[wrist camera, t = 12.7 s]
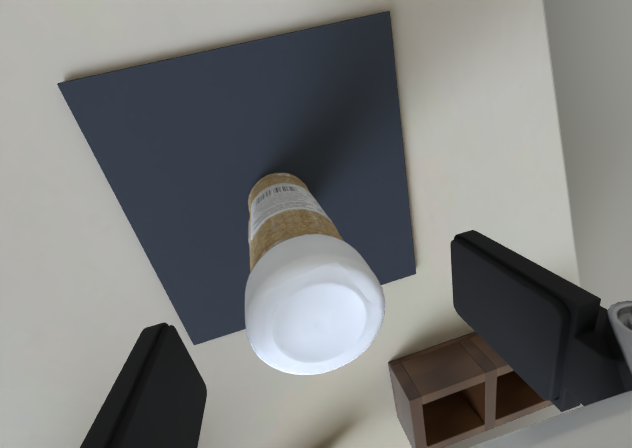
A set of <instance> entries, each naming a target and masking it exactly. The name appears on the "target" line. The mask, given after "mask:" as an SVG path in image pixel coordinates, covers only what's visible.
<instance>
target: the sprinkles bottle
mask: <svg viewBox="0 0 632 448" xmlns="http://www.w3.org/2000/svg"><path fill="white" fill-rule="evenodd" d="M248 205H249V212H250V219H249V247H250V252H249V253H250V272H251V273H250V275H249V278H248V281H247V284H246V290H245V325H246V333H247V337H248V340H249V343H250V344H251V346H252V348H253V350H254V351H255V353H256V354H257V355H258V356H259V358H261V359H262V360H263V361H264V362H265V363H267V364H268V365H270V366H271V367H273V368H275V369H277V370H280V371H283V372H286V373H291V374H298V375H312V374H320V373H325V372H328V371H331V370H334V369H337V368H339V367H341V366H344V365H345V364H347V363H349V362H351V361H352V360H354V359H355V358H356V357H358V356H359V355H360V354H361V353H363V352H364V351H365V350H366V348H367V347H368V346H369V345H370V344H371V343H372V341H373V340H374V339H375V337H376V335H377V334H378V332H379V330H380V328H381V325H382V322H383V318H384V313H385V298H384V294H383V290H382V287H381V285H380V283H379V281H378V279H377V277H376V276H375V274H374V273H373V271H372V270H371V269H370V267H369V266H368V264H367V263H366V262H365V260H364V259H363V258H362V256H361V255H360V254H359V253H358V252H357V251H356V250H355V249H354V248H353V247H352V246H350V245H349V244H347V243H346V242H345V241H344V240H343V239H342V237H341V236H340V234H339V233H338V231H337V229H336V227H335V226H334V224H333V223H332V221H331V220H330V218H329V217H328V216H327V214H326V213H325V212H324V210H323V209H322V208H321V206H320V205H319V204H318V202H317V201H316V200H315V198H314V197H313V196H312V195H311V193H310V192H309V190H308V188H307V186H306V185H305V184H304V183H303V182H302V181H301V180H300V179H299V178H297V177H296V176H294V175H291V174H288V173H274V174H269V175H266V176H265V177H263V178H261V179H260V180H259V181H258V182H257V183H256V184H255V186H254V187H253V188H252V190H251V192H250V195H249V199H248Z"/></svg>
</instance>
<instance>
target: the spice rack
mask: <svg viewBox="0 0 632 448" xmlns="http://www.w3.org/2000/svg"><path fill="white" fill-rule="evenodd" d="M388 364H389V370H390V376H391V381H392V387H393V393H394V399H395V405H396V411H397V417H398V419H399V421H400V423H401V425H402V427H403V430H404V432H405V434H406V436H407V438H408V440H409V442H410V444H411V446H412V448H444V447H446V446H449V445H451V444H454V443H457V442H459V441H461V440H464V439H467V438H469V437H472V436H474V435H477V434H479V433H482V432H484V431H487V430H490V429H492V428H495V427H497V426H500V425H502V424H505V423H507V422H510V421H513V420H515V419H517V418H520V417H523V416H525V415H527V414H530V413H533V412H535V411H538V410H540V409H543V408H546V407H548V406H550V405H553V403H552V402H551V401H550V400H549V401H547V400H544V399H543V398H541V397H540V396H539V395H538V394H537V393H536V392H535V391H534V390H533V389H532V388H531V387H530V386H529V385H528V384H527V383H526V382H525V381H524V380H523V379H522V378H521V377H520V376H519V375H518V374H517V373H516V372H515V371H514V370H513V369H512V368H511V367H510V366H509V365H508V364H507V363H506V362H505V361H504V360H503V359H502V358H501V357H500V356H499V355H498V354H497V353H496V352H495V351H494V350H493V349H492V348H491V347H490V346H489V345H488V344H487V343H486V342H485V341H484V340H483V339H482V338H481V337H480V336H479V335H478V334H477V333H476V332H474V333H471V334H468V335H466V336H463V337H460V338H457V339H454V340H451V341H449V342H446V343H443V344H440V345H437V346H434V347H432V348H429V349H426V350H423V351H420V352H417V353H415V354H412V355H409V356H406V357H403V358H400V359H398V360H395V361H392V362H389V363H388Z"/></svg>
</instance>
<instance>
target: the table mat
mask: <svg viewBox="0 0 632 448" xmlns="http://www.w3.org/2000/svg"><path fill="white" fill-rule="evenodd" d="M57 85H58V87H59V89H60V91H61V92H62V94H63V96H64V98H65V100H66V102H67V104H68V106H69V108H70V110H71V112H72V113H73V115H74V117H75V119H76V121H77V123H78V125H79V127H80V129H81V131H82V132H83V134H84V136H85V138H86V140H87V142H88V144H89V146H90V148H91V150H92V152H93V153H94V155H95V157H96V159H97V161H98V163H99V165H100V167H101V169H102V171H103V173H104V174H105V176H106V178H107V180H108V182H109V184H110V186H111V188H112V190H113V192H114V194H115V195H116V197H117V199H118V201H119V203H120V205H121V207H122V209H123V211H124V213H125V215H126V216H127V218H128V220H129V222H130V224H131V226H132V228H133V230H134V232H135V234H136V236H137V237H138V239H139V241H140V243H141V245H142V247H143V249H144V251H145V253H146V255H147V257H148V258H149V260H150V262H151V264H152V266H153V268H154V270H155V272H156V274H157V276H158V278H159V279H160V281H161V283H162V285H163V287H164V289H165V291H166V293H167V295H168V297H169V299H170V300H171V302H172V304H173V306H174V308H175V310H176V312H177V314H178V316H179V318H180V320H181V321H182V323H183V325H184V327H185V329H186V331H187V333H188V335H189V337H190V339H191V341H192V342H193V344H194V345H196V344H200V343H203V342H206V341H209V340H212V339H215V338H218V337H221V336H224V335H227V334H231V333H234V332H237V331H240V330H243V329H246V325H245V290H246V284H247V281H248V278H249V275H250V273H251V272H250V253H249V252H250V247H249V219H250V212H249V205H248V199H249V195H250V192H251V190H252V188H253V187H254V186H255V184H256V183H257V182H258V181H259V180H260V179H261V178H263V177H265V176H266V175H269V174H274V173H288V174H291V175H294V176H296V177H297V178H299V179H300V180H301V181H302V182H303V183H304V184H305V185H306V186H307V188H308V190H309V192H310V193H311V195H312V196H313V197H314V198H315V200H316V201H317V202H318V204H319V205H320V206H321V208H322V209H323V210H324V212H325V213H326V214H327V216H328V217H329V218H330V220H331V221H332V223H333V224H334V226H335V227H336V229H337V231H338V233H339V234H340V236H341V237H342V239H343V240H344V241H345V242H346V243H347V244H349V245H350V246H352V247H353V248H354V249H355V250H356V251H357V252H358V253H359V254H360V255H361V256H362V258H363V259H364V260H365V262H366V263H367V264H368V266H369V267H370V269H371V270H372V271H373V273H374V274H375V276H376V277H377V279H378V281H379V283H380V285H383V284H386V283H389V282H392V281H395V280H398V279H401V278H404V277H407V276H411V275H414V274H416V268H415V258H414V248H413V238H412V228H411V218H410V208H409V198H408V188H407V178H406V168H405V158H404V148H403V138H402V128H401V118H400V108H399V98H398V88H397V78H396V69H395V59H394V49H393V39H392V29H391V19H390V11H387V12H383V13H378V14H373V15H369V16H364V17H360V18H355V19H350V20H346V21H341V22H337V23H332V24H328V25H323V26H318V27H314V28H309V29H305V30H300V31H295V32H291V33H286V34H282V35H277V36H273V37H268V38H263V39H259V40H254V41H250V42H245V43H240V44H236V45H231V46H227V47H222V48H217V49H213V50H208V51H204V52H199V53H195V54H190V55H185V56H181V57H176V58H172V59H167V60H162V61H158V62H153V63H149V64H144V65H140V66H135V67H130V68H126V69H121V70H117V71H112V72H107V73H103V74H98V75H94V76H89V77H85V78H80V79H75V80H71V81H66V82H62V83H58V84H57Z"/></svg>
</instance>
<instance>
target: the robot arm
mask: <svg viewBox="0 0 632 448" xmlns="http://www.w3.org/2000/svg"><path fill="white" fill-rule="evenodd" d="M451 265H452V285H453V304H454V308H455V310H456V312H457V313H458V314H459V316H460V317H461V318H462V319H463V320H464V321H465V322H466V323H467V324H468V325H469V326H470V327H471V328H472V329H473V330H474V331H475V332H476V333H477V334H478V335H479V336H480V337H481V338H482V339H483V340H484V341H485V342H486V343H487V344H488V345H489V346H490V347H491V348H492V349H493V350H494V351H495V352H496V353H497V354H498V355H499V356H500V357H501V358H502V359H503V360H504V361H505V362H506V363H507V364H508V365H509V366H510V367H511V368H512V369H513V370H514V371H515V372H516V373H517V374H518V375H519V376H520V377H521V378H522V379H523V380H524V381H525V382H526V383H527V384H528V385H529V386H530V387H531V388H532V389H533V390H534V391H535V392H536V393H537V394H538V395H539V396H540V397H541V398H543V399H544V400H547V401H549V400H550V401H551V402H552V403H553V404H554V405H555V406H556V407H557V408H558V409H559V410H560V411H561V412H563V411H566V410H568V409H571V408H574V407H576V406H579V405H580V403H581V404H582V405H583V406H584V407H581V408H578V409H575V410H572V411H569V412H566V413H563V414H560V415H558V416H555V417H552V418H549V419H546V420H544V421H541V422H538V423H535V424H533V425H530V426H527V427H525V428H522V429H519V430H516V431H513V432H510V433H508V434H505V435H502V436H500V437H497V438H494V439H491V440H488V441H486V442H483V443H480V444H478V445H475V446H472V447H469V448H632V301H625V302H618V303H616V304H613V305H611V306H610V308H609V309H608V310H607V309H605V308H603V307H601V306H600V301H601V299H600V298H599V297H597V296H595V295H593V294H591V293H589V292H587V291H586V290H584V289H582V288H580V287H578V286H576V285H575V284H573V283H571V282H569V281H567V280H565V279H564V278H562V277H560V276H558V275H556V274H554V273H552V272H551V271H549V270H547V269H545V268H543V267H541V266H540V265H538V264H536V263H534V262H532V261H530V260H529V259H527V258H525V257H523V256H521V255H519V254H517V253H516V252H514V251H512V250H510V249H508V248H506V247H505V246H503V245H501V244H499V243H497V242H495V241H493V240H492V239H490V238H488V237H486V236H484V235H482V234H481V233H479V232H477V231H474V230H471V231H467V232H464V233H461V234H457V235H456V236H455V237H454V240H453V241H451ZM206 397H207V390H206V385H205V383H204V381H203V379H202V377H201V375H200V373H199V372H198V370H197V368H196V366H195V364H194V362H193V360H192V358H191V357H190V355H189V353H188V351H187V349H186V347H185V345H184V343H183V342H182V340H181V338H180V336H179V334H178V332H177V330H176V329H175V327H174V326H173V325H170V326H168V324H166V323H161V324H157V325H154V326H151V327H147V328H145V329H143V331H142V332H141V334H140V336H139V338H138V340H137V342H136V344H135V346H134V347H133V349H132V351H131V353H130V355H129V357H128V359H127V361H126V362H125V364H124V366H123V368H122V370H121V372H120V374H119V376H118V377H117V379H116V381H115V383H114V385H113V387H112V389H111V391H110V392H109V394H108V396H107V398H106V400H105V402H104V404H103V406H102V407H101V409H100V411H99V413H98V415H97V417H96V419H95V421H94V423H93V424H92V426H91V428H90V430H89V432H88V434H87V436H86V438H85V439H84V441H83V443H82V445H81V447H80V448H197V446H198V441H199V435H200V430H201V424H202V419H203V413H204V408H205V403H206Z"/></svg>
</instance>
